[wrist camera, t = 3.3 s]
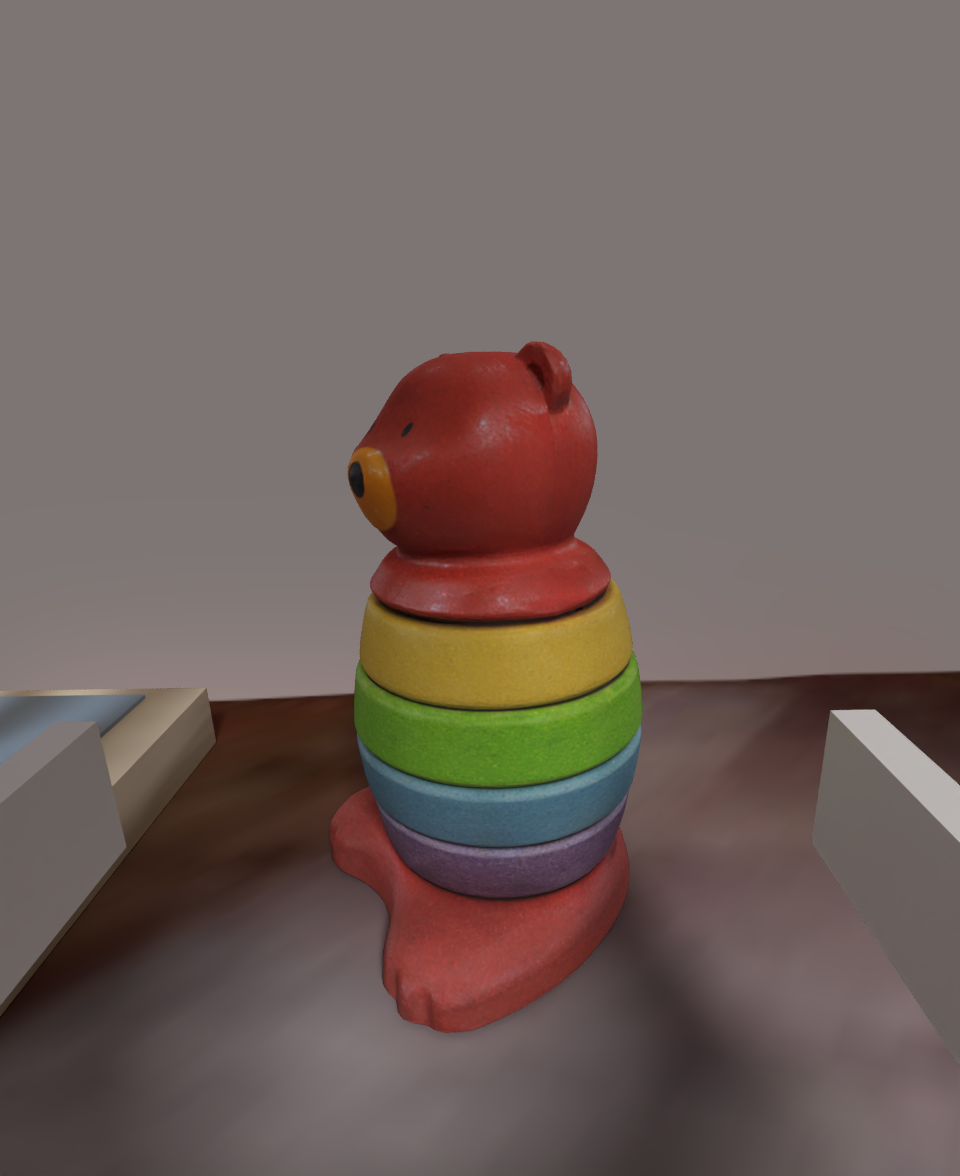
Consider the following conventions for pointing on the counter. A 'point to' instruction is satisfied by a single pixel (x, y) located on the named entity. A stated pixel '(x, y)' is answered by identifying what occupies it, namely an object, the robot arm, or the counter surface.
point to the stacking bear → (488, 690)
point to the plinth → (118, 753)
